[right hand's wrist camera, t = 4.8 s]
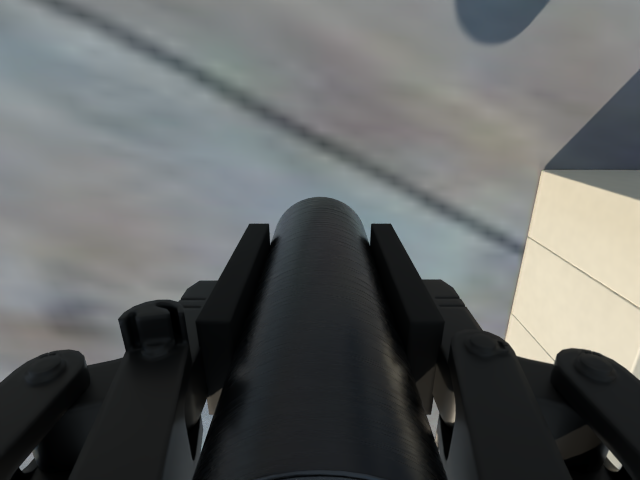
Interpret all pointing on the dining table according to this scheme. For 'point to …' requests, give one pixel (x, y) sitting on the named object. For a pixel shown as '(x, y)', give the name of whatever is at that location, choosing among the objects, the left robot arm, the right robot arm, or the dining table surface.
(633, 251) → the peg block
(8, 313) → the dining table surface
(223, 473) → the peg
